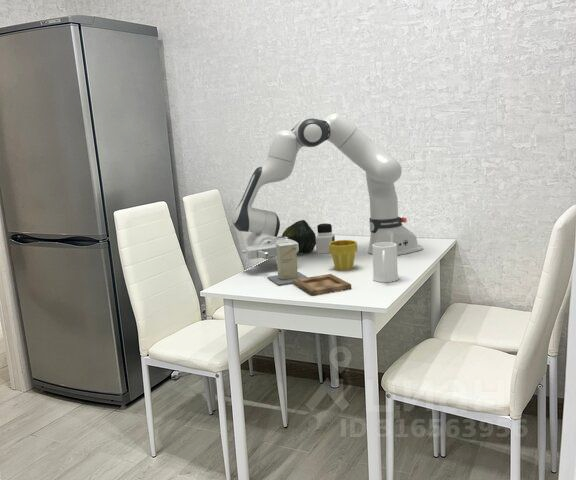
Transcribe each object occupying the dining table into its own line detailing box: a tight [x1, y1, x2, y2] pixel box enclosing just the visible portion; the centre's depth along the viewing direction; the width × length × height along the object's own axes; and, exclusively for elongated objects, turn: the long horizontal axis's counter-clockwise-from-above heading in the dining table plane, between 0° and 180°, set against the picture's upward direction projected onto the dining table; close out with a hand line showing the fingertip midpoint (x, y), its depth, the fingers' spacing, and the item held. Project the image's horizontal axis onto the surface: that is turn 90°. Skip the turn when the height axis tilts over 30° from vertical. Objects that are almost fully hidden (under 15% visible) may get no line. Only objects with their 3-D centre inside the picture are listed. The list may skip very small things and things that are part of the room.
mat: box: [267, 271, 309, 287], centre depth 203 cm, size 12×12×1 cm
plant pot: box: [329, 239, 358, 271], centre depth 212 cm, size 10×10×10 cm
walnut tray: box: [292, 273, 352, 297], centre depth 191 cm, size 14×16×2 cm
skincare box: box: [276, 242, 299, 280], centre depth 202 cm, size 6×4×12 cm
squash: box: [281, 219, 317, 254], centre depth 243 cm, size 14×15×15 cm
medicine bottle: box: [315, 222, 336, 255], centre depth 242 cm, size 7×7×12 cm
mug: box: [372, 242, 399, 283], centre depth 192 cm, size 12×8×12 cm
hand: (278, 253), depth 210 cm, fingers open, 8 cm apart
